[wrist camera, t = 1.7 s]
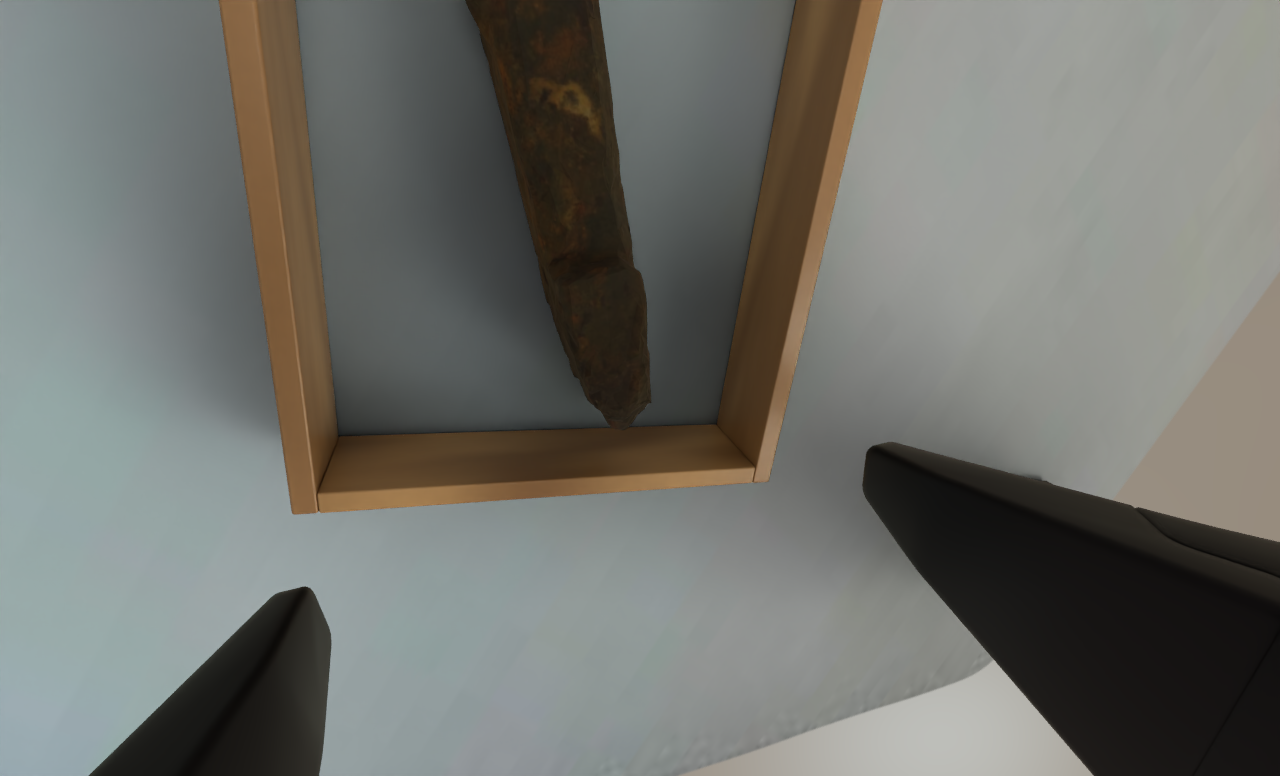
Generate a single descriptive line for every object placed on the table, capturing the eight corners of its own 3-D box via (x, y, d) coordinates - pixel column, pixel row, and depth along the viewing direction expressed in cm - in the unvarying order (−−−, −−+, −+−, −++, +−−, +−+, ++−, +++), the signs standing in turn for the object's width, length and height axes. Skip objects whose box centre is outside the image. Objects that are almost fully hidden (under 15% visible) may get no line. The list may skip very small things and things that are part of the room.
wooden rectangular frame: (866, -261, 16) (968, -360, 13) (728, 437, 24) (768, 482, 21) (201, -552, 11) (96, -835, 8) (318, 454, 19) (291, 515, 16)
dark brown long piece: (375, -303, 13) (336, -507, 9) (547, -294, 14) (585, -476, 10) (530, 415, 21) (547, 481, 17) (631, 392, 22) (670, 450, 18)
